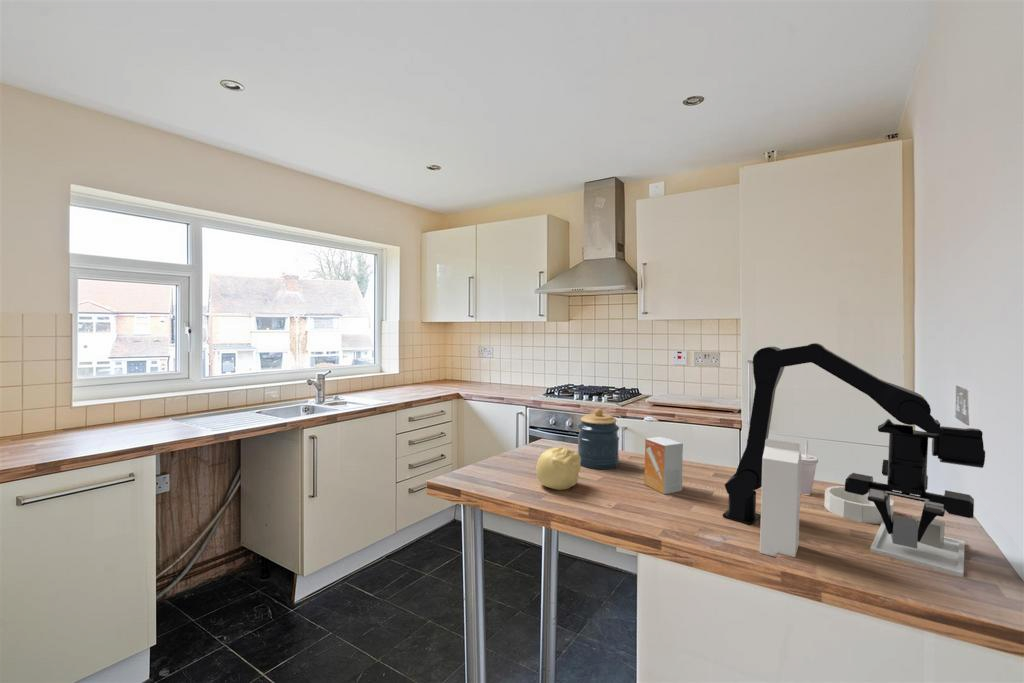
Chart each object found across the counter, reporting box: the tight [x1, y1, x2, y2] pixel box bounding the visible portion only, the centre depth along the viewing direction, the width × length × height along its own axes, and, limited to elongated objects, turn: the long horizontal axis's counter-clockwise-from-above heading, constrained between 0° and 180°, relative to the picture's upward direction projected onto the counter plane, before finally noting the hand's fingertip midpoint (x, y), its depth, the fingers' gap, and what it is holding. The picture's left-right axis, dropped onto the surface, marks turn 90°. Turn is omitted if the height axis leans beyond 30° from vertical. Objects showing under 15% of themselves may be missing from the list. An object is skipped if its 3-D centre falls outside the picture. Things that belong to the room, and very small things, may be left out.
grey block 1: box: [891, 514, 918, 548], centre depth 91 cm, size 4×4×4 cm
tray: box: [869, 522, 966, 578], centre depth 92 cm, size 17×13×2 cm
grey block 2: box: [916, 516, 946, 548], centre depth 94 cm, size 4×4×4 cm
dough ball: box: [535, 445, 582, 491], centre depth 129 cm, size 11×12×11 cm
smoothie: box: [800, 440, 819, 495], centre depth 124 cm, size 6×6×14 cm
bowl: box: [824, 485, 895, 525], centre depth 110 cm, size 13×13×5 cm
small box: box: [643, 436, 684, 495], centre depth 127 cm, size 8×6×13 cm
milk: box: [759, 438, 802, 558], centre depth 92 cm, size 6×6×22 cm
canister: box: [577, 407, 620, 470], centre depth 149 cm, size 13×13×18 cm
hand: (904, 537), depth 91 cm, fingers closed on grey block 1, 4 cm apart
